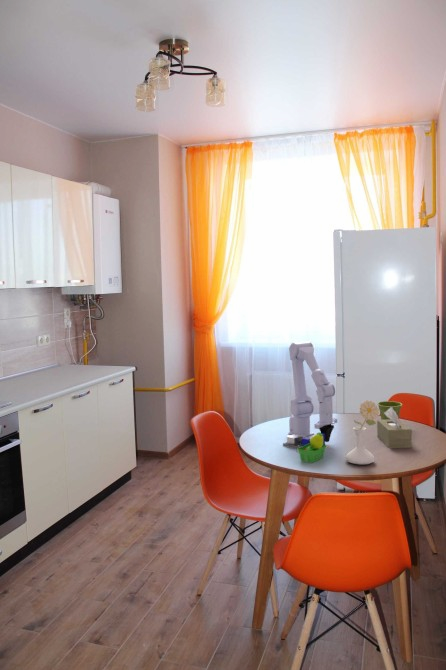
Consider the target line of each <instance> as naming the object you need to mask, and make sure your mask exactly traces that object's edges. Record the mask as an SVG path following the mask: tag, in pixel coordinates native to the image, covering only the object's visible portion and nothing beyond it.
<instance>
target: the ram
mask: <svg viewBox="0 0 446 670" xmlns="http://www.w3.org/2000/svg"><path fill="white" fill-rule="evenodd" d="M302 438H304V437H303V435H299V434H293V435H292V434H289V435H287V436H286V442H287V444H290V445H294V446H298V447H300V446H301V445H302Z"/></svg>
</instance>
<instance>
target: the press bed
mask: <svg viewBox="0 0 446 670" xmlns="http://www.w3.org/2000/svg"><path fill="white" fill-rule="evenodd" d="M282 446H283V447H287V448H290V449H295V450H297V451H296V452H297V453H299V451H298V448H300V447H301V446H294V445H290V444H287V441H285V442H284V443H282ZM328 448H331V446H329V445H326V448H325V450H326V449H328Z"/></svg>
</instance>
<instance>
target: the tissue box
mask: <svg viewBox="0 0 446 670" xmlns="http://www.w3.org/2000/svg"><path fill="white" fill-rule="evenodd" d="M384 414H385V415H386V416H387V417H388V418H389V419H388V420H381V419H377V420H376V426H377V427H376V428H377V430H376V431H377V432H376V433H377V434H376V436H377V438H378V439H379V440H380V441H381V442H382V443H383V444H384V445H385V446H386V447H387V448H388V449H402V448H403V449H405V448H406V449H407V448H412V447H413V446H412V445H413V444H412V443H413V440H412V439H413V438H412V437H413V435H412V433H413V432H412V431H413V430H412V429H411V428H410V427H409V426H408V425H406V424H405V423H404V422H402V421H401V420H400V419H399V418H400V417H399V418H398V415H397V414H396V412H395V411H394V409H393V408H392V407H391V408H389V409H388V410H387V411H386V412H384Z"/></svg>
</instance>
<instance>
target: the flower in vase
mask: <svg viewBox="0 0 446 670" xmlns="http://www.w3.org/2000/svg"><path fill="white" fill-rule="evenodd" d="M359 414H360V416H362V419H364V422H362V423H361V422H358V421H356V420H354V419H353V421H354V423H355V424H359V425H361V426H355V427H353V428H352V429H353V430H354V432H355V435H356V446H355V448H353V449H352V450H350V451H349V452H348V453H347V454H346V455H345V457H344V459H345V460H346V461H347V462H348V463H350V464H353V465H369V464H371V463H373V462H374V461H375V460H376V458H375V456H374V455H373V453H372V452H370V451H369V450H368V449H366V448H365V446H364V441H363V439H364V433H365V431H366V430H367V428H366V427H365V426H364V425H365V424H367V425H368V426H374V425H377V421H375V420H374V419H376V418H378V417H379V415H380V409H379V407H378V405H376V403H375V402H374V401H372V400H365V401H363V402H361V403H360V405H359Z"/></svg>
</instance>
